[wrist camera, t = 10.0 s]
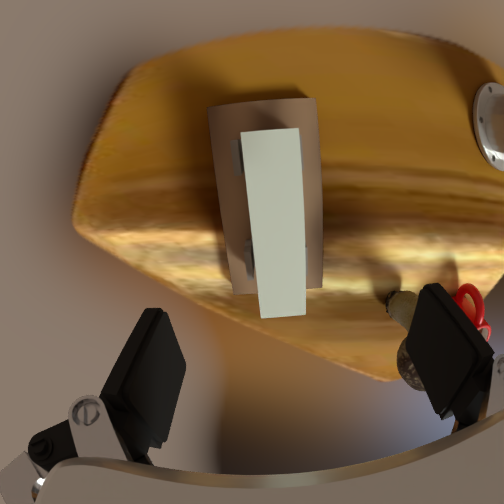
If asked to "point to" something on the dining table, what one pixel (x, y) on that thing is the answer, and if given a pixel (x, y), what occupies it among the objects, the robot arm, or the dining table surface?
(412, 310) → the mushroom
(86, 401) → the robot arm
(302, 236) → the pale grey rectangular block
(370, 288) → the dining table surface
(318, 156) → the board
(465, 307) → the mug
